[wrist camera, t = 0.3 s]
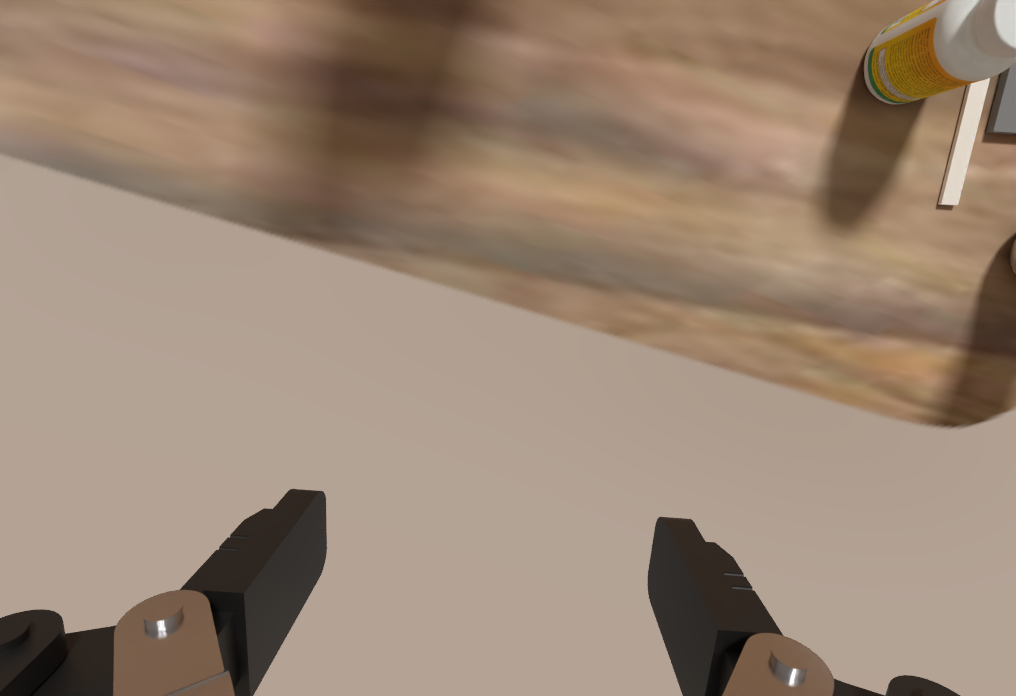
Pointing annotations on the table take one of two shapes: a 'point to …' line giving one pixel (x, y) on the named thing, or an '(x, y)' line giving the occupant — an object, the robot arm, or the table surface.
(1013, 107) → the mat
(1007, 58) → the supplement bottle
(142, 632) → the robot arm
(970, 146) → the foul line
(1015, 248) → the plastic bottle
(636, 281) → the table surface
